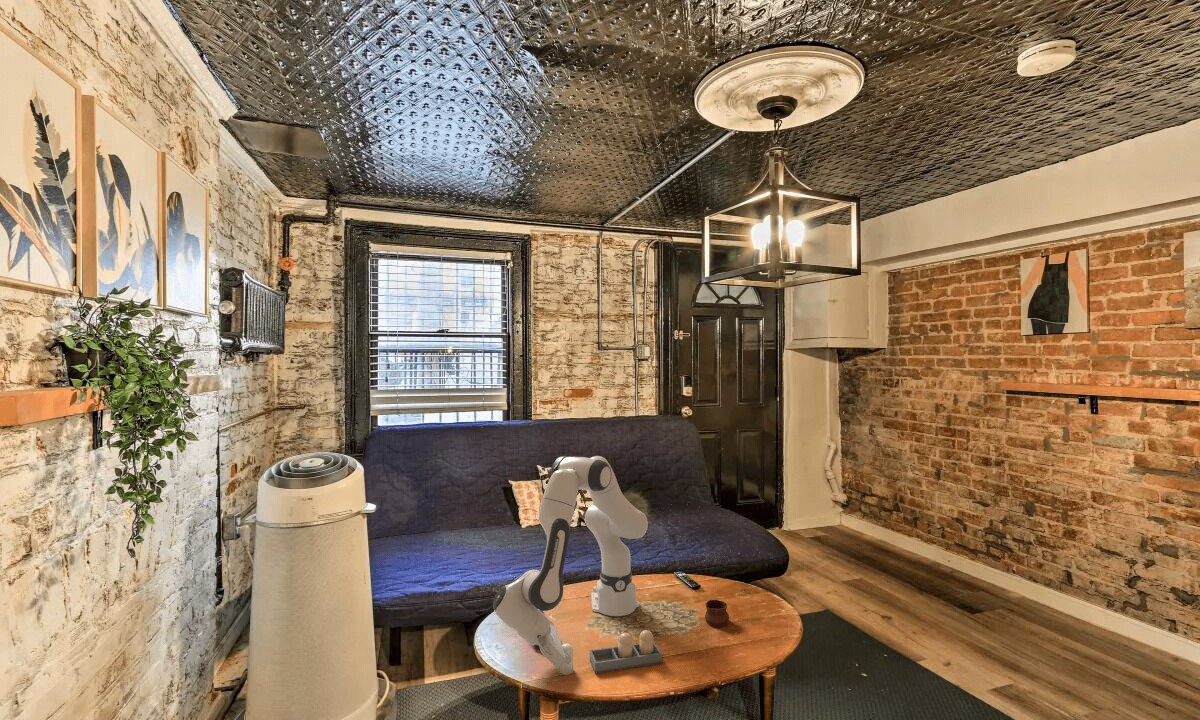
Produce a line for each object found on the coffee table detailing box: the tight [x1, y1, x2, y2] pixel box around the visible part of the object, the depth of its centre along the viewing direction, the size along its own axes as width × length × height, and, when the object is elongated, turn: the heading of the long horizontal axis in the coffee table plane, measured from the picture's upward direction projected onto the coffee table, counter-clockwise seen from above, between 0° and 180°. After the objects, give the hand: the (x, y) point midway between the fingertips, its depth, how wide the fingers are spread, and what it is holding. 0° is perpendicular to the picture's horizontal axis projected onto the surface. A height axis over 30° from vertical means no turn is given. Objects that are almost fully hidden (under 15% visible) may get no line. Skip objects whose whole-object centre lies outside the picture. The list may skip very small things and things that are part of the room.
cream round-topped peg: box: [558, 642, 574, 676], centre depth 169 cm, size 4×4×8 cm
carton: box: [589, 629, 663, 675], centre depth 174 cm, size 8×22×9 cm, turn 104°
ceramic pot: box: [704, 599, 730, 628], centre depth 199 cm, size 18×18×7 cm
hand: (568, 656), depth 169 cm, fingers closed on cream round-topped peg, 4 cm apart
